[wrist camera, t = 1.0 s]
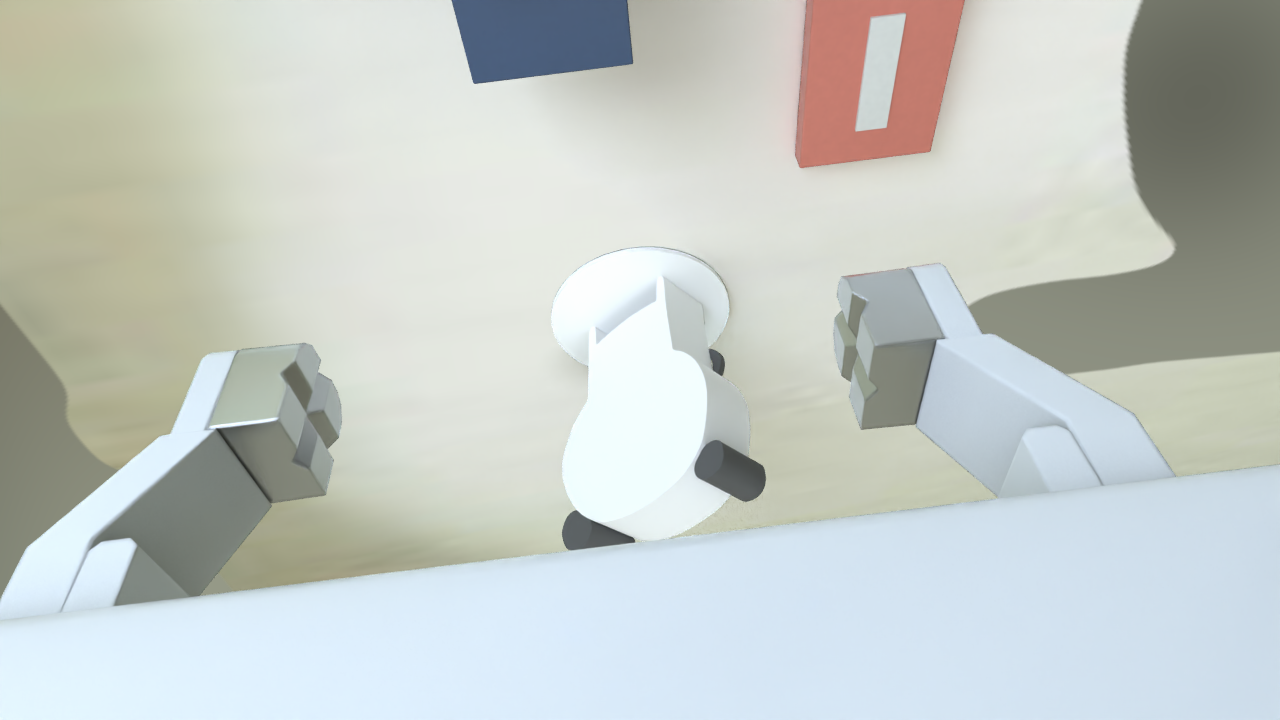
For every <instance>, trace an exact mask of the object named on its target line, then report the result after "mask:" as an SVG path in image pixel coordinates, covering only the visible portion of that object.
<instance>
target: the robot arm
mask: <svg viewBox="0 0 1280 720" xmlns="http://www.w3.org/2000/svg"><path fill="white" fill-rule="evenodd" d="M837 298H838V300H839V303H840V306H841V309H842V311H841V312H840V313H839V314H838V315H837V316H836V317H835V319H834V332H833V336H834V350H835V355H836V359H837V364H838V367H839V370H840V373H841V376H843V377H844V378H846V379H847V380H848V381H850V382H851V387H850V394H849V398H850V401H851V404H852V406H853V409H854V412H855V415H856V417H857V420H858V423H859V426H860V428H861V430H863V429H873V428H883V427H894V426H904V425H914V424H916V428H918V429H919V430H920V431H921V432H922V433H923V434H925V435H926V436H927V437H928V438H929V439H931V440H932V441H933V442H934V443H935V444H936V445H938V446H939V447H940V448H941V449H942V450H943V451H945V452H946V453H947V454H948V455H949V456H950V457H952V458H953V459H954V460H955V461H956V462H957V463H959V464H960V465H961V466H962V467H963V468H965V469H966V470H967V471H968V472H969V473H970V474H972V475H973V476H974V477H975V478H976V479H977V480H979V481H980V482H981V483H982V484H983V485H984V486H986V487H987V488H988V489H989V490H990V491H991V492H993V493H994V494H995V495H996V496H997V497H998V498H997V499H990V500H982V501H974V502H966V503H957V504H949V505H941V506H933V507H925V508H916V509H908V510H900V511H892V512H883V513H875V514H867V515H859V516H850V517H842V518H834V519H826V520H817V521H809V522H801V523H793V524H785V525H776V526H768V527H760V528H752V529H744V530H735V531H727V532H719V533H711V534H702V535H694V536H686V537H678V538H670V539H661V540H653V541H645V542H637V543H629V544H620V545H612V546H604V547H596V548H588V549H579V550H571V551H563V552H555V553H547V554H538V555H530V556H522V557H514V558H505V559H497V560H489V561H481V562H473V563H464V564H456V565H448V566H440V567H432V568H423V569H415V570H407V571H399V572H391V573H382V574H374V575H366V576H358V577H350V578H341V579H333V580H325V581H317V582H309V583H300V584H292V585H284V586H276V587H268V588H259V589H251V590H243V591H235V592H227V593H219V594H211V595H202V596H200V594H201V593H202V592H203V591H204V590H205V588H206V587H207V586H208V585H209V583H210V582H211V581H212V580H213V578H214V577H215V576H216V575H217V574H218V572H219V571H220V570H221V569H222V567H223V566H224V565H225V564H226V562H227V561H228V560H229V559H230V557H231V556H232V555H233V554H234V553H235V551H236V550H237V549H238V548H239V546H240V545H241V544H242V543H243V541H244V540H245V539H246V538H247V536H248V535H249V534H250V533H251V532H252V530H253V529H254V528H255V527H256V525H257V524H258V523H259V522H260V520H261V519H262V518H263V517H264V515H265V514H266V513H267V512H268V511H269V509H270V508H271V507H272V505H271V503H277V502H283V501H290V500H297V499H304V498H310V497H317V496H324V495H326V492H327V488H328V483H329V479H330V475H331V470H332V466H333V462H334V460H333V458H332V457H331V455H330V453H329V451H328V450H327V449H328V448H329V447H330V446H331V445H332V444H333V443H334V442H335V441H336V440H337V439H338V438H339V435H340V429H341V424H342V414H341V403H340V399H339V396H338V392H337V390H336V388H335V386H334V384H333V382H332V380H331V379H329V378H327V377H325V376H324V375H322V374H320V373H319V372H318V370H319V366H320V362H321V359H320V358H319V356H318V354H317V353H316V351H315V349H314V348H313V346H312V345H310V344H307V343H299V344H289V345H279V346H269V347H259V348H249V349H242V350H236V351H226V352H215V353H209V354H208V355H206V356H205V357H204V358H203V359H202V360H201V362H200V364H199V367H198V369H197V372H196V374H195V376H194V379H193V381H192V384H191V386H190V388H189V391H188V393H187V396H186V398H185V400H184V403H183V405H182V408H181V410H180V412H179V415H178V417H177V419H176V422H175V424H174V427H173V429H172V431H171V434H170V435H163V436H160V437H158V438H157V439H156V440H155V441H154V442H152V443H151V444H150V445H149V446H148V447H147V448H145V449H144V450H143V451H142V452H141V453H139V454H138V455H137V456H136V457H135V458H133V459H132V460H131V461H130V462H129V463H127V464H126V465H125V466H124V467H123V468H121V469H120V470H119V471H118V472H117V473H116V474H114V475H113V476H112V477H111V478H110V479H108V481H106V482H105V483H104V484H102V485H101V486H100V487H99V488H98V489H96V490H95V491H94V492H93V493H92V494H90V495H89V496H88V497H87V498H86V499H85V500H83V501H82V502H81V503H80V504H79V505H77V506H76V507H75V508H74V509H73V510H71V511H70V512H69V513H68V514H67V515H65V516H64V517H63V518H62V519H61V520H60V521H58V522H57V523H56V524H55V525H54V526H52V527H51V528H50V529H49V530H48V531H46V532H45V533H44V534H43V535H42V536H40V537H39V538H38V539H37V540H36V541H34V542H33V543H32V544H31V545H30V546H28V547H27V548H26V550H25V552H24V554H23V556H22V558H21V560H20V562H19V564H18V566H17V568H16V570H15V572H14V574H13V576H12V578H11V580H10V581H9V583H8V585H7V587H6V589H5V591H4V593H3V595H2V597H1V599H0V720H1280V464H1277V465H1269V466H1261V467H1253V468H1244V469H1236V470H1228V471H1220V472H1212V473H1203V474H1195V475H1187V476H1179V477H1176V475H1175V474H1174V472H1173V471H1172V469H1171V468H1170V466H1169V465H1168V463H1167V462H1166V460H1165V459H1164V457H1163V456H1162V454H1161V453H1160V451H1159V450H1158V448H1157V447H1156V445H1155V444H1154V442H1153V441H1152V439H1151V438H1150V436H1149V435H1148V433H1147V432H1146V430H1145V429H1144V427H1143V426H1142V424H1141V423H1140V422H1139V420H1138V419H1137V417H1136V416H1135V414H1134V413H1132V412H1131V411H1129V410H1127V409H1125V408H1124V407H1122V406H1120V405H1118V404H1117V403H1115V402H1113V401H1111V400H1109V399H1108V398H1106V397H1104V396H1102V395H1101V394H1099V393H1097V392H1095V391H1094V390H1092V389H1090V388H1088V387H1087V386H1085V385H1083V384H1081V383H1080V382H1078V381H1076V380H1074V379H1072V378H1071V377H1069V376H1067V375H1065V374H1064V373H1062V372H1060V371H1058V370H1057V369H1055V368H1053V367H1051V366H1049V365H1048V364H1046V363H1044V362H1043V361H1041V360H1039V359H1037V358H1035V357H1034V356H1032V355H1030V354H1028V353H1027V352H1025V351H1023V350H1021V349H1019V348H1018V347H1016V346H1014V345H1013V344H1011V343H1009V342H1007V341H1006V340H1004V339H1002V338H1000V337H998V336H997V335H995V334H993V333H992V334H983V333H982V331H981V329H980V328H979V326H978V324H977V322H976V321H975V319H974V317H973V315H972V313H971V311H970V310H969V308H968V306H967V304H966V303H965V301H964V299H963V297H962V295H961V294H960V292H959V290H958V288H957V286H956V285H955V283H954V281H953V279H952V278H951V276H950V274H949V272H948V270H947V269H946V267H945V266H944V265H942V264H941V263H934V264H927V265H920V266H913V267H907V268H906V269H905V268H902V269H895V270H887V271H879V272H872V273H864V274H857V275H849V276H841V279H840V282H839V285H838V292H837Z"/></svg>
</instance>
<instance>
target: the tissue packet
mask: <svg viewBox="0 0 1280 720" xmlns="http://www.w3.org/2000/svg"><path fill="white" fill-rule="evenodd" d="M964 1H965V0H807V6H806V19H805V32H804V45H803V58H802V71H801V84H800V97H799V110H798V123H797V137H796V150H795V156H796V159H797V162H798V164H799V167H800V168H805V167H813V166H821V165H829V164H837V163H845V162H853V161H861V160H869V159H877V158H885V157H893V156H901V155H909V154H917V153H925V152H930V151H931V146H932V142H933V137H934V133H935V129H936V124H937V120H938V115H939V111H940V106H941V102H942V98H943V93H944V89H945V84H946V80H947V76H948V71H949V67H950V62H951V58H952V54H953V49H954V45H955V40H956V36H957V32H958V27H959V23H960V18H961V14H962V10H963V5H964Z"/></svg>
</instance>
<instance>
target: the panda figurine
mask: <svg viewBox="0 0 1280 720" xmlns="http://www.w3.org/2000/svg"><path fill="white" fill-rule="evenodd" d="M728 315H729V299H728V295H727V291H726V288H725V285H724V283H723V282H722V280H721V278H720V277H719V276H718V274H717V273H716V272H715V271H714V270H713V269H712V268H711V267H710V266H708V265H707V264H706V263H704V262H703V261H701V260H699V259H697V258H696V257H694V256H691V255H689V254H686V253H683V252H680V251H676V250H672V249H666V248H656V247H641V248H631V249H625V250H620V251H616V252H612V253H609V254H606V255H603V256H601V257H599V258H596V259H594V260H592V261H590V262H588V263H587V264H585V265H584V266H582V267H580V268H579V269H578V270H577V271H575V272H574V273H573V274H572V275H571V276H570V277H569V278H568V279H567V280H566V281H565V282H564V283H563V285H562V286H561V287H560V289H559V291H558V292H557V294H556V296H555V299H554V302H553V305H552V311H551V322H552V329H553V332H554V335H555V337H556V339H557V341H558V343H559V344H560V346H561V347H562V348H563V349H564V351H565V352H566V353H567V354H569V355H570V356H571V357H572V358H574V359H575V360H576V361H578V362H580V363H581V364H583V365H585V366H587V367H589V376H588V401H587V403H586V404H585V406H584V408H583V409H582V411H581V413H580V414H579V416H578V418H577V420H576V422H575V424H574V426H573V429H572V431H571V433H570V436H569V439H568V442H567V445H566V449H565V452H564V456H563V464H562V472H563V481H564V485H565V489H566V491H567V494H568V496H569V498H570V500H571V502H572V504H573V505H574V507H575V508H576V509H577V510H575V511H573V512H572V513H570V514H569V516H568V517H567V518H566V521H565V523H564V526H563V530H562V537H563V541H564V544H565V546H566V548H567V549H568V550H570V551H571V550H579V549H588V548H596V547H604V546H612V545H620V544H629V543H635V540H634V538H636V539H638V540H641V541H653V540H661V539H666V538H670V537H672V536H675V535H678V534H680V533H682V532H684V531H686V530H688V529H690V528H692V527H693V526H695V525H697V524H698V523H700V522H701V521H703V520H704V519H706V518H707V517H708V516H710V515H711V514H713V513H714V512H715V511H716V510H717V509H719V508H720V507H721V506H722V505H723V504H724V503H725V502H726V501H727V499H728V498H729V497H730V496H731V495H732V496H734V497H736V498H738V499H740V500H742V501H745V502H747V501H751V500H753V499H755V498H756V497H758V496H759V495H760V494H761V493H762V491H763V489H764V486H765V481H766V476H765V470H764V467H763V466H762V465H761V464H759V463H757V462H756V461H754V460H752V459H750V458H749V457H748V454H749V446H750V417H749V411H748V407H747V404H746V401H745V399H744V397H743V395H742V393H741V392H740V391H739V389H738V388H737V387H736V386H735V385H734V384H733V383H731V382H730V381H728V380H727V379H725V378H724V377H722V375H723V372H724V367H725V361H724V358H723V356H722V355H721V354H720V353H718V352H717V351H715V350H713V349H708V348H709V347H710V346H711V345H712V344H713V343H714V342H715V341H716V340H717V339H718V337H719V336H720V334H721V333H722V331H723V329H724V327H725V325H726V323H727V320H728ZM711 360H712V362H713V369H712V364H711Z"/></svg>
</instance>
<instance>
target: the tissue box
mask: <svg viewBox="0 0 1280 720" xmlns="http://www.w3.org/2000/svg"><path fill="white" fill-rule="evenodd" d="M452 3H453V7H454V11H455V15H456V19H457V23H458V26H459V30H460V34H461V38H462V42H463V45H464V49H465V53H466V57H467V61H468V64H469V68H470V72H471V76H472V80H473V83H474V84H478V83H486V82H494V81H502V80H510V79H518V78H526V77H534V76H542V75H550V74H558V73H566V72H574V71H582V70H590V69H598V68H605V67H613V66H621V65H629V64H633V56H632V46H631V35H630V25H629V14H628V3H627V0H452Z"/></svg>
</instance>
